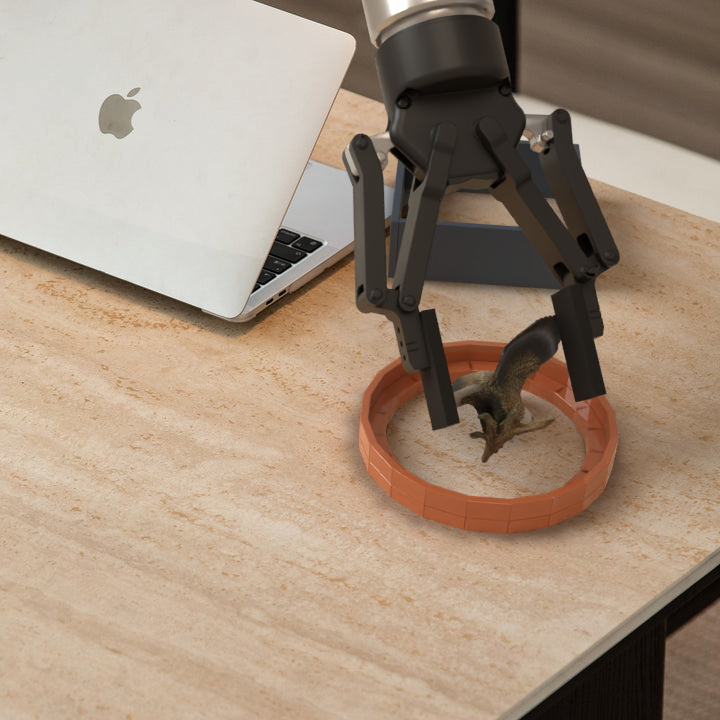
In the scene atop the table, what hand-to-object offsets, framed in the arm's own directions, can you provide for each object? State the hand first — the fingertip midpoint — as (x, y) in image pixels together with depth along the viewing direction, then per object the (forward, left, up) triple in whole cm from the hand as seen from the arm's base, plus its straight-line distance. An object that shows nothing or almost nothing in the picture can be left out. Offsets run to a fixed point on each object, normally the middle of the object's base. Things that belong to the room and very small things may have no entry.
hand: (519, 411), depth 71 cm
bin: (+1, -28, -6) cm, 29 cm away
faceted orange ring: (+1, -3, -6) cm, 7 cm away
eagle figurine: (+1, -3, -4) cm, 5 cm away
